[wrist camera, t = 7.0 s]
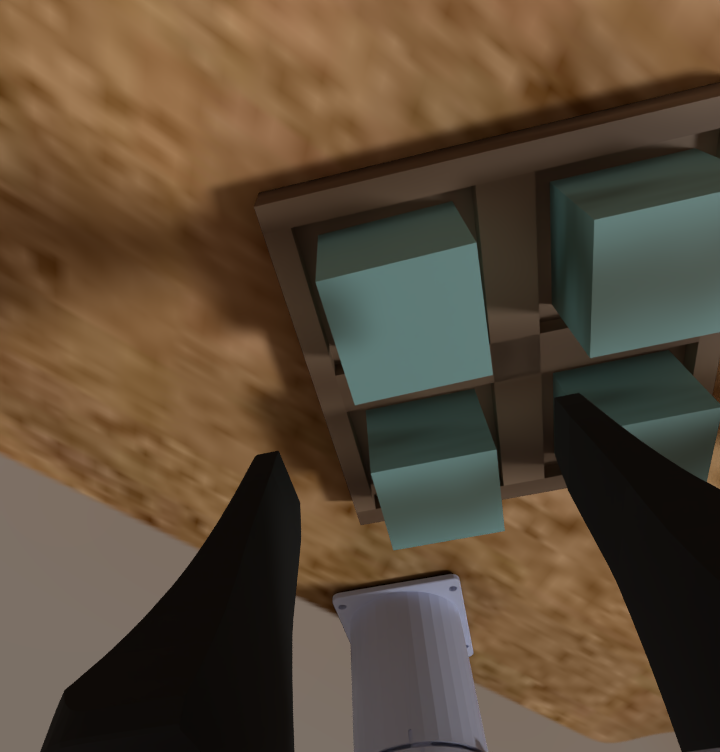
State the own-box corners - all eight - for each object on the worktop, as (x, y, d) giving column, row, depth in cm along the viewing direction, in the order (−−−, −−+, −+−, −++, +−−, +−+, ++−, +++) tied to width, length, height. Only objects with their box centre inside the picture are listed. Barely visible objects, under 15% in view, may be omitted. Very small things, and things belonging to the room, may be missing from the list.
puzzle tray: (681, 442, 28) (738, 515, 24) (359, 501, 29) (363, 579, 26) (742, 76, 18) (855, 98, 14) (258, 193, 20) (241, 241, 16)
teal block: (469, 319, 22) (493, 374, 19) (351, 346, 23) (355, 405, 20) (452, 201, 19) (476, 242, 16) (318, 235, 20) (315, 282, 17)
